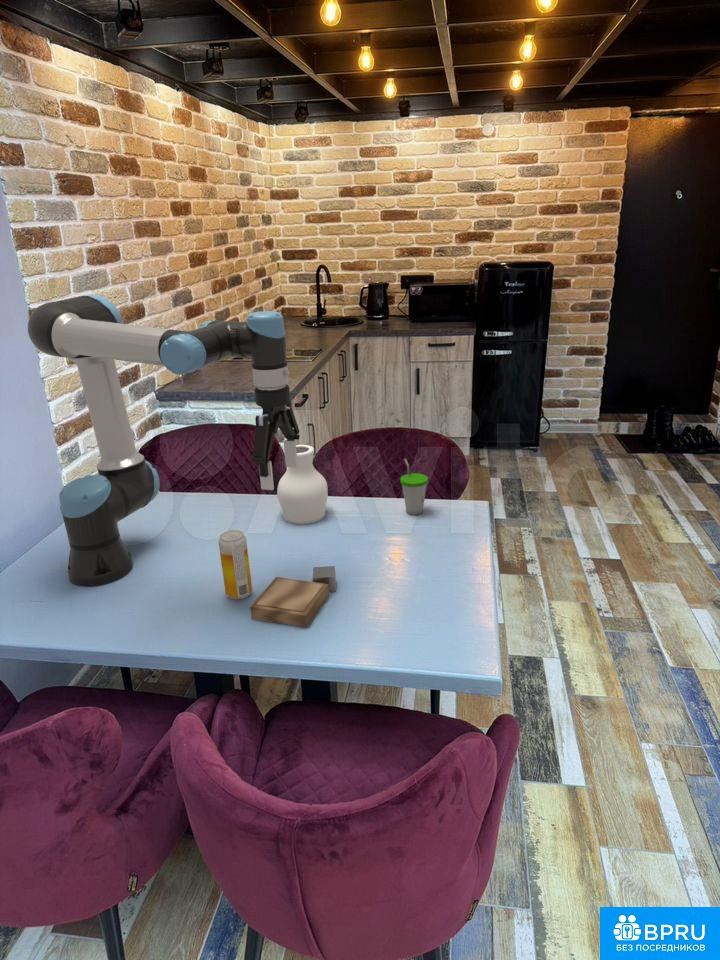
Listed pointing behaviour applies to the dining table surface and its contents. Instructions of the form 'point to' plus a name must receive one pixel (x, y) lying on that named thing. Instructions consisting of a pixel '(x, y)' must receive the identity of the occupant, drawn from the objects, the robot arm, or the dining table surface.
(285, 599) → the plinth
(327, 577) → the steel block
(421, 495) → the cup
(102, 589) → the dining table surface
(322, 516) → the vase
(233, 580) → the beer can
